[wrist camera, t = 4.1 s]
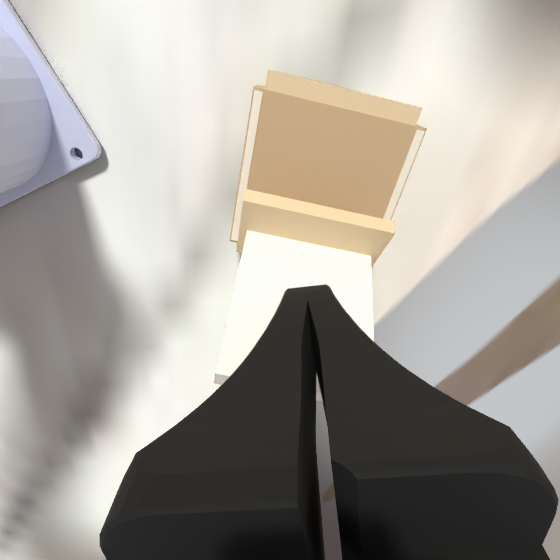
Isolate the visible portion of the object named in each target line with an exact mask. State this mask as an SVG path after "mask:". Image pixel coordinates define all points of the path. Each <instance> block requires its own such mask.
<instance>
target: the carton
mask: <svg viewBox="0 0 560 560" xmlns="http://www.w3.org/2000/svg"><path fill="white" fill-rule="evenodd" d="M421 110H422V108H420V107H416V106H412V105H409V104H405V103H401V102H397V101H393V100H389V99H385V98H381V97H376V96H372V95H368V94H364V93H360V92H356V91H352V90H348V89H344V88H340V87H336V86H332V85H328V84H324V83H320V82H316V81H312V80H308V79H304V78H300V77H296V76H292V75H288V74H284V73H280V72H276V71H272V70H268V75H267V81H266V87H264V86H260V85H257V86H254V88H253V94H252V100H251V107H250V113H249V120H248V126H247V133H246V139H245V145H244V152H243V158H242V165H241V171H240V178H239V184H238V190H237V197H236V203H235V210H234V216H233V223H232V229H231V235H230V241H232V242H237V243H238V236H239V228H240V220H241V212H242V204H243V199H244V194H245V190H246V189H249V190H253V191H258V192H262V193H267V194H272V195H276V196H281V197H285V198H290V199H294V200H299V201H304V202H308V203H313V204H317V205H322V206H326V207H331V208H336V209H340V210H345V211H349V212H354V213H358V214H363V215H368V216H372V217H377V218H381V219H386V220H390V221H391V219H392V216H393V214H394V211H395V208H396V206H397V203H398V201H399V198H400V196H401V193H402V191H403V188H404V186H405V183H406V180H407V178H408V175H409V173H410V170H411V168H412V165H413V163H414V160H415V158H416V155H417V153H418V150H419V147H420V145H421V142H422V140H423V137H424V135H425V132H426V130H427V129H426V128H424V127H421V126H419V125H416V124H417V121H418V118H419V116H420V113H421ZM372 267H373V266H372ZM372 267H371V268H372Z"/></svg>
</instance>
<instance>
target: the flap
mask: <svg viewBox="0 0 560 560" xmlns="http://www.w3.org/2000/svg"><path fill="white" fill-rule="evenodd" d="M394 234H395V227H394V221H390V220H386V219H381V218H377V217H372V216H368V215H363V214H358V213H354V212H349V211H345V210H340V209H336V208H331V207H326V206H322V205H317V204H313V203H308V202H304V201H299V200H294V199H290V198H285V197H281V196H276V195H272V194H267V193H262V192H258V191H253V190H249V189H246V190H245V194H244V199H243V204H242V212H241V220H240V228H239V236H238V244H237V252H240V253H242V255H241V260H240V264H239V269H238V273H237V278H236V282H235V287H234V291H233V295H232V300H231V304H230V309H229V313H228V318H227V322H226V327H225V331H224V336H223V340H222V345H221V349H220V354H219V358H218V362H217V367H216V371H215V380H214V383H215V384H221V385H222V384H223V383H224V382H225V381H226V380H227V379H228V378H229V377H230V376H231V375H232V374H233V372H234V371H235V370H236V369H237V368H238V367H239V365H240V364H241V363H242V362H243V361H244V359H245V358H246V357H247V356H248V354H249V353H250V352H251V350H252V349H253V347H254V346H255V345H256V343H257V342H258V340H259V339H260V337H261V336H262V334H263V333H264V331H265V329H266V328H267V326H268V324H269V323H270V321H271V319H272V317H273V316H274V314H275V312H276V310H277V308H278V306H279V304H280V302H281V300H282V297H283V295H284V292H285V291H286V290H287V289H288V288H297V287H306V286H315V285H324V284H327V285H328V286H329V287H331V290H332V292H333V293H334V295H335V297H336V298H337V300H338V301H339V302H340V304H341V305H342V307H343V308H344V309H345V311H346V312H347V313H348V314H349V315H350V317H351V318H352V319H353V320H354V321H355V323H356V324H357V325H358V326H359V327H360V328H361V329H362V330H363V331H364V332H365V333H366V334H367V335H368V336H369V337H370V338H371V339H372V340H373V341H374V327H373V297H372V268H371V267H372V266H373V264H374V263H375V262H376V260H377V259H378V257H379V256H380V254H381V253H382V251H383V250H384V249H385V247H386V246H387V244H388V243H389V241H390V240H391V239H392V237H393V236H394ZM316 401H320V402H323V401H322V396H321V391H320V386H319V381H318V376H317V371H316Z"/></svg>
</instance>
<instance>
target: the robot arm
mask: <svg viewBox="0 0 560 560" xmlns="http://www.w3.org/2000/svg"><path fill="white" fill-rule="evenodd" d="M75 148H78V149H79V150H80V151H81V152H82V154H83V157H82V158H79V157H78V156H77V155H76V153H75ZM101 153H102V151H101V146H100V143H99V142H98V140H97V139H96V137H95V135H94V134H93V132H92V131H91V129H90V128H89V126H88V125H87V123H86V121H85V120H84V118H83V117H82V115H81V114H80V112H79V110H78V109H77V107H76V106H75V104H74V103H73V101H72V100H71V98H70V96H69V95H68V93H67V92H66V90H65V89H64V87H63V85H62V84H61V82H60V81H59V79H58V78H57V76H56V75H55V73H54V71H53V70H52V68H51V67H50V65H49V64H48V62H47V61H46V59H45V57H44V56H43V54H42V53H41V51H40V50H39V48H38V46H37V45H36V43H35V42H34V40H33V39H32V37H31V36H30V34H29V32H28V31H27V29H26V28H25V26H24V25H23V23H22V21H21V20H20V18H19V17H18V15H17V14H16V12H15V11H14V9H13V7H12V6H11V4H10V3H9V1H8V0H0V207H2V206H4V205H6V204H8V203H10V202H12V201H14V200H16V199H18V198H20V197H22V196H24V195H26V194H28V193H30V192H32V191H34V190H36V189H38V188H40V187H42V186H44V185H46V184H48V183H50V182H52V181H54V180H56V179H58V178H60V177H62V176H64V175H66V174H68V173H70V172H72V171H74V170H76V169H78V168H80V167H82V166H84V165H86V164H88V163H90V162H92V161H94V160H96V159H97V158H99V157H100V155H101ZM316 371H317V376H318V381H319V386H320V391H321V396H322V401H323V405H324V411H325V415H326V421H327V426H328V434H329V444H330V454H331V464H332V472H333V481H334V489H335V498H336V506H337V514H338V523H339V531H340V540H341V550H342V559H343V560H550V559H549V557H548V555H547V553H546V551H545V550H544V548H543V546H542V544H543V541H544V539H545V537H546V535H547V533H548V530H549V528H550V526H551V524H552V521H553V519H554V517H555V514H556V511H557V505H558V498H557V495H556V492H555V489H554V487H553V486H552V484H551V482H550V481H549V479H548V478H547V476H546V474H545V473H544V471H543V470H542V468H541V467H540V466H539V464H538V462H537V461H536V460H535V458H534V457H533V456H532V455H531V453H530V452H529V450H528V449H527V448H526V447H525V445H524V444H523V443H522V442H521V440H520V439H519V438H518V437H517V436H516V434H515V433H514V432H513V431H512V430H511V428H510V427H509V426H506V425H505V424H503V423H500V422H498V421H496V420H494V419H492V418H490V417H488V416H486V415H484V414H482V413H480V412H478V411H476V410H474V409H472V408H470V407H468V406H466V405H464V404H462V403H460V402H458V401H457V400H455V399H453V398H451V397H450V396H448V395H446V394H444V393H443V392H441V391H439V390H437V389H436V388H434V387H432V386H431V385H429V384H428V383H426V382H425V381H423V380H422V379H420V378H419V377H417V376H416V375H415V374H413V373H412V372H410V371H409V370H407V369H406V368H405V367H403V366H402V365H400V364H399V363H398V362H397V361H395V360H394V359H393V358H392V357H390V356H389V355H388V354H387V353H386V352H385V351H383V350H382V349H381V348H380V347H379V346H378V345H377V344H376V343H375V342H374V341H373V340H372V339H371V338H370V337H369V336H368V335H367V334H366V333H365V332H364V331H363V330H362V329H361V328H360V327H359V326H358V325H357V324H356V323H355V321H354V320H353V319H352V318H351V317H350V315H349V314H348V313H347V312H346V311H345V309H344V308H343V307H342V305H341V304H340V302H339V301H338V300H337V298H336V297H335V295H334V293H333V292H332V290H331V287H329V286H328V285H327V284H324V285H315V286H306V287H297V288H288V289H287V290H286V291H285V292H284V295H283V297H282V300H281V302H280V304H279V306H278V308H277V310H276V312H275V314H274V316H273V317H272V319H271V321H270V323H269V324H268V326H267V328H266V329H265V331H264V333H263V334H262V336H261V337H260V339H259V340H258V342H257V343H256V345H255V346H254V347H253V349H252V350H251V352H250V353H249V354H248V356H247V357H246V358H245V359H244V361H243V362H242V363H241V364H240V365H239V367H238V368H237V369H236V370H235V371H234V372H233V374H232V375H231V376H230V377H229V378H228V379H227V380H226V381H225V382H224V383H223V384H222V385H221V386H220V387H219V388H218V389H217V390H216V391H215V392H214V393H213V394H212V395H211V396H210V397H209V398H208V399H207V400H206V401H204V402H203V403H202V404H201V405H200V406H199V407H198V408H196V409H195V410H194V411H193V412H191V413H190V414H189V415H188V416H187V417H185V418H184V419H183V420H182V421H180V422H179V423H178V424H176V425H175V426H174V427H172V428H171V429H170V430H168V431H167V432H165V433H164V434H163V435H161V436H160V437H158V438H157V439H156V440H154V441H153V442H151V443H150V444H149V445H147V446H146V447H144V448H143V449H141V450H140V451H138V452H137V453H136V454H135V456H134V458H133V461H132V462H131V464H130V466H129V468H128V470H127V472H126V474H125V476H124V478H123V480H122V482H121V485H120V487H119V489H118V491H117V494H116V496H115V499H114V501H113V504H112V506H111V508H110V511H109V513H108V516H107V518H106V521H105V523H104V525H103V528H102V530H101V533H100V547H101V550H102V552H103V553H104V555H105V557H106V559H107V560H325V553H324V542H323V530H322V517H321V505H320V494H319V481H318V467H317V454H316V430H315V429H316Z"/></svg>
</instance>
